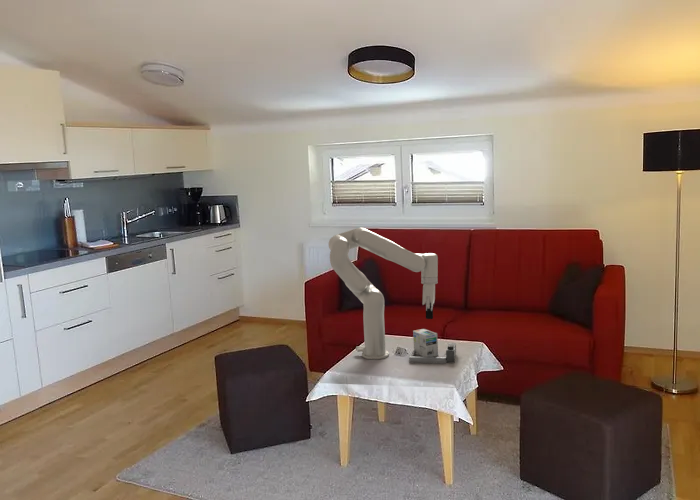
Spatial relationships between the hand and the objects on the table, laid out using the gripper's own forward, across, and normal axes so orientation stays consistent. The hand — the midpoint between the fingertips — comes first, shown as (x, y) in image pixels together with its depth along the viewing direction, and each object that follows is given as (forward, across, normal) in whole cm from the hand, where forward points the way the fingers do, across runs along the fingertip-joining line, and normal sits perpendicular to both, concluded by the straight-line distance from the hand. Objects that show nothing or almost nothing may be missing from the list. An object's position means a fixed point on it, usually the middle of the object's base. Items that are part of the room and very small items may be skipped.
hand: (429, 318), depth 290 cm
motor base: (+15, +11, +3) cm, 19 cm away
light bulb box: (+16, +6, -1) cm, 17 cm away
